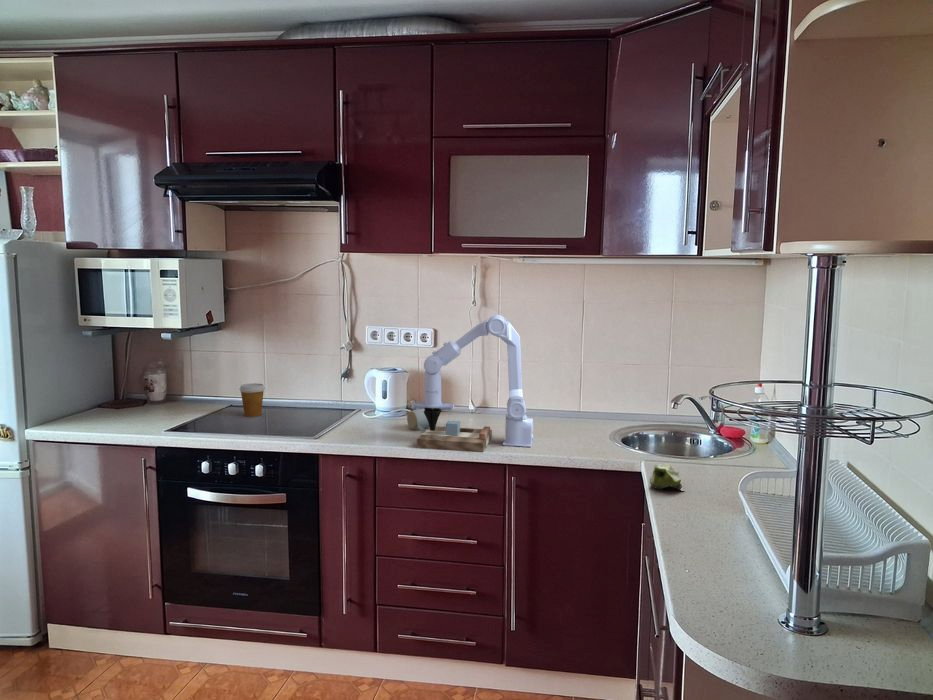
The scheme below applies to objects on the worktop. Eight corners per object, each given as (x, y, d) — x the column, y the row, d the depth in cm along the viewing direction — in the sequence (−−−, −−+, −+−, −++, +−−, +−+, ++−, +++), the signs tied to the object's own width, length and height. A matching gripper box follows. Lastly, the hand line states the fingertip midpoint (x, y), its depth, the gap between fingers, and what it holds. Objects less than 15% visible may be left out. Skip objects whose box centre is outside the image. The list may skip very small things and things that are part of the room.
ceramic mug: (405, 428, 243) (405, 407, 242) (424, 425, 247) (424, 405, 246) (420, 434, 234) (420, 413, 233) (439, 431, 239) (440, 410, 238)
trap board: (491, 438, 230) (492, 424, 229) (483, 452, 212) (483, 436, 212) (430, 434, 234) (430, 420, 233) (417, 447, 216) (417, 432, 216)
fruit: (662, 500, 174) (657, 470, 173) (644, 491, 183) (639, 463, 182) (692, 490, 176) (687, 462, 175) (673, 482, 185) (668, 455, 184)
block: (459, 432, 224) (459, 421, 224) (457, 435, 221) (457, 424, 220) (448, 432, 225) (448, 420, 225) (445, 435, 221) (445, 423, 221)
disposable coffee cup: (261, 411, 268) (260, 382, 266) (268, 415, 260) (267, 386, 258) (237, 414, 262) (236, 384, 261) (244, 418, 255) (243, 388, 253)
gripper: (456, 389, 225) (456, 428, 227) (415, 387, 228) (415, 426, 229) (451, 393, 218) (451, 433, 220) (409, 391, 221) (409, 431, 223)
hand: (432, 430), depth 224 cm, fingers closed
